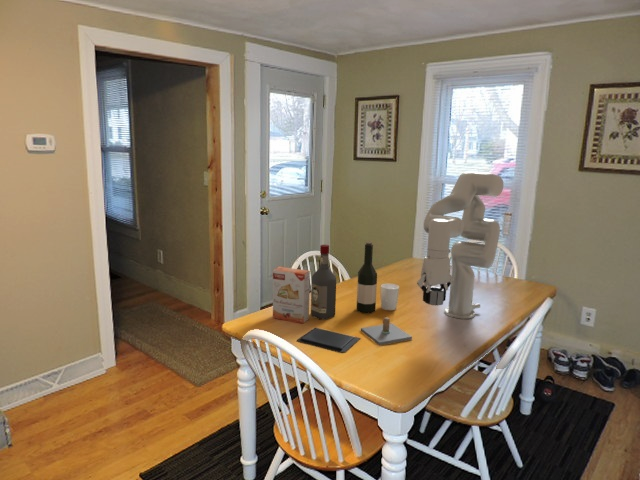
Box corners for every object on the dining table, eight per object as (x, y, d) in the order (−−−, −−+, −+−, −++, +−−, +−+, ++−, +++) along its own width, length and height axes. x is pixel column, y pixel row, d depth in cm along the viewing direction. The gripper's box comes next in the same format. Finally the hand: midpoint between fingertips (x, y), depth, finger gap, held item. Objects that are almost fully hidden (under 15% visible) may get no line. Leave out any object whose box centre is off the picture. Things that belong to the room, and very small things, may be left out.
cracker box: (272, 318, 194) (272, 269, 189) (278, 313, 199) (278, 265, 195) (303, 324, 189) (304, 273, 184) (309, 319, 194) (310, 269, 190)
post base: (391, 325, 189) (392, 310, 188) (411, 339, 177) (412, 322, 175) (360, 330, 184) (361, 314, 182) (379, 345, 171) (380, 328, 170)
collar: (435, 298, 178) (436, 285, 177) (446, 304, 172) (447, 290, 171) (421, 300, 175) (422, 287, 174) (432, 306, 170) (433, 293, 169)
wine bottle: (362, 314, 200) (366, 245, 194) (352, 308, 207) (355, 241, 201) (379, 311, 204) (382, 244, 198) (368, 305, 211) (371, 240, 205)
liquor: (323, 309, 205) (324, 242, 198) (338, 315, 199) (340, 246, 192) (307, 314, 199) (308, 245, 192) (322, 321, 192) (324, 249, 186)
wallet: (294, 337, 173) (315, 324, 186) (294, 342, 173) (315, 328, 186) (343, 351, 163) (362, 335, 176) (343, 356, 164) (361, 340, 177)
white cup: (397, 311, 205) (398, 289, 203) (379, 310, 206) (380, 288, 204) (398, 305, 212) (399, 284, 210) (380, 304, 214) (381, 282, 212)
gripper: (450, 249, 177) (446, 295, 181) (411, 253, 170) (408, 300, 174) (463, 253, 170) (459, 301, 174) (424, 258, 163) (420, 307, 167)
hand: (434, 300), depth 174 cm, fingers closed on collar, 6 cm apart
